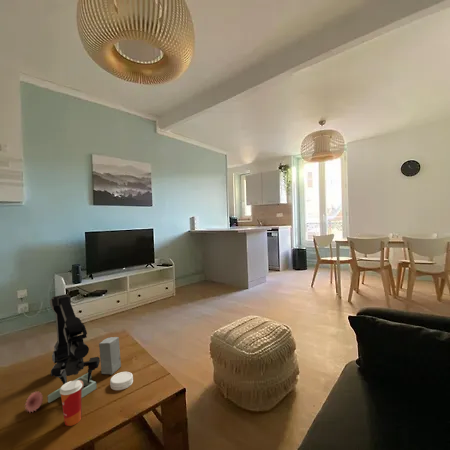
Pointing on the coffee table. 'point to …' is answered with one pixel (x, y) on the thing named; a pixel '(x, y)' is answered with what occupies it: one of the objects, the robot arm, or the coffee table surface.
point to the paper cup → (71, 402)
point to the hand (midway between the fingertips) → (77, 384)
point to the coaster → (121, 380)
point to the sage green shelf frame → (85, 391)
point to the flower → (34, 401)
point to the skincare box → (110, 355)
